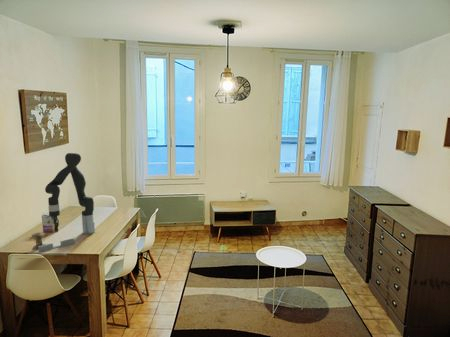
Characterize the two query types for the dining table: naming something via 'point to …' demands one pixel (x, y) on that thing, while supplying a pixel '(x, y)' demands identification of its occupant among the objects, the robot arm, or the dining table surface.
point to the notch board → (50, 246)
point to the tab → (54, 228)
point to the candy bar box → (47, 223)
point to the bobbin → (38, 239)
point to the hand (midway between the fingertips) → (55, 230)
